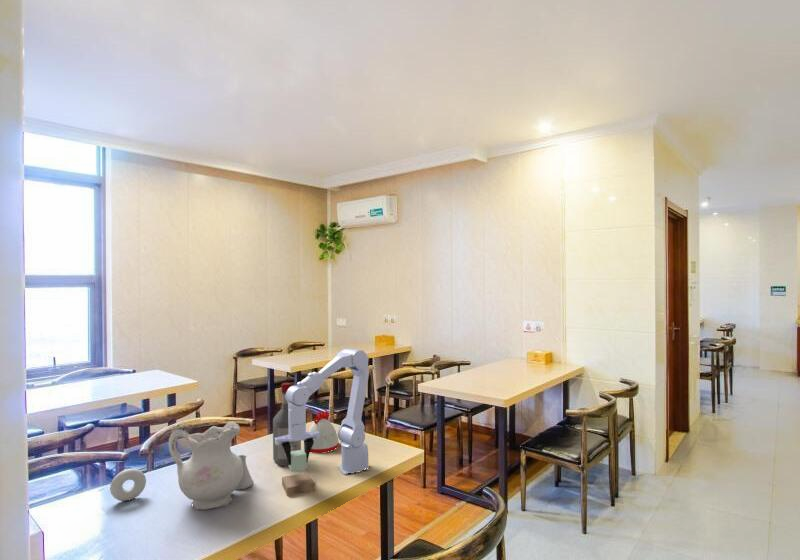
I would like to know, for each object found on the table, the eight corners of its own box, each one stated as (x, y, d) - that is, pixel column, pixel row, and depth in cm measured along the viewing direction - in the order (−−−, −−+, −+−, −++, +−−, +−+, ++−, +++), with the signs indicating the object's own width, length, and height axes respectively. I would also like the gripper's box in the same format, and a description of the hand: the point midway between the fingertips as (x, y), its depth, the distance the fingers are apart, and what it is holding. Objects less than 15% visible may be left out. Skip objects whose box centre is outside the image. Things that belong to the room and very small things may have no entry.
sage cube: (303, 463, 158) (303, 449, 158) (306, 469, 154) (306, 454, 154) (288, 466, 156) (288, 451, 156) (291, 472, 151) (291, 456, 151)
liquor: (303, 462, 176) (302, 384, 175) (279, 468, 170) (278, 387, 170) (294, 454, 183) (293, 379, 183) (271, 460, 178) (270, 383, 178)
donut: (110, 507, 143) (109, 475, 143) (109, 502, 146) (109, 471, 145) (146, 498, 148) (146, 467, 148) (145, 493, 151) (145, 463, 151)
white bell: (345, 446, 192) (344, 410, 192) (319, 456, 182) (318, 418, 182) (324, 438, 201) (323, 404, 201) (298, 447, 191) (297, 411, 191)
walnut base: (308, 480, 160) (308, 472, 160) (314, 491, 152) (314, 482, 152) (282, 485, 157) (282, 477, 157) (287, 497, 149) (286, 487, 149)
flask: (245, 491, 152) (245, 461, 152) (226, 489, 154) (225, 459, 154) (257, 481, 159) (256, 453, 159) (238, 480, 161) (237, 451, 161)
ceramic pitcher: (169, 527, 133) (169, 443, 131) (168, 494, 150) (168, 419, 148) (247, 509, 143) (248, 431, 141) (238, 480, 160) (238, 410, 158)
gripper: (315, 416, 161) (315, 454, 161) (273, 421, 155) (273, 462, 155) (320, 421, 155) (321, 461, 155) (276, 428, 149) (277, 469, 149)
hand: (297, 462), depth 154 cm, fingers closed on sage cube, 5 cm apart
